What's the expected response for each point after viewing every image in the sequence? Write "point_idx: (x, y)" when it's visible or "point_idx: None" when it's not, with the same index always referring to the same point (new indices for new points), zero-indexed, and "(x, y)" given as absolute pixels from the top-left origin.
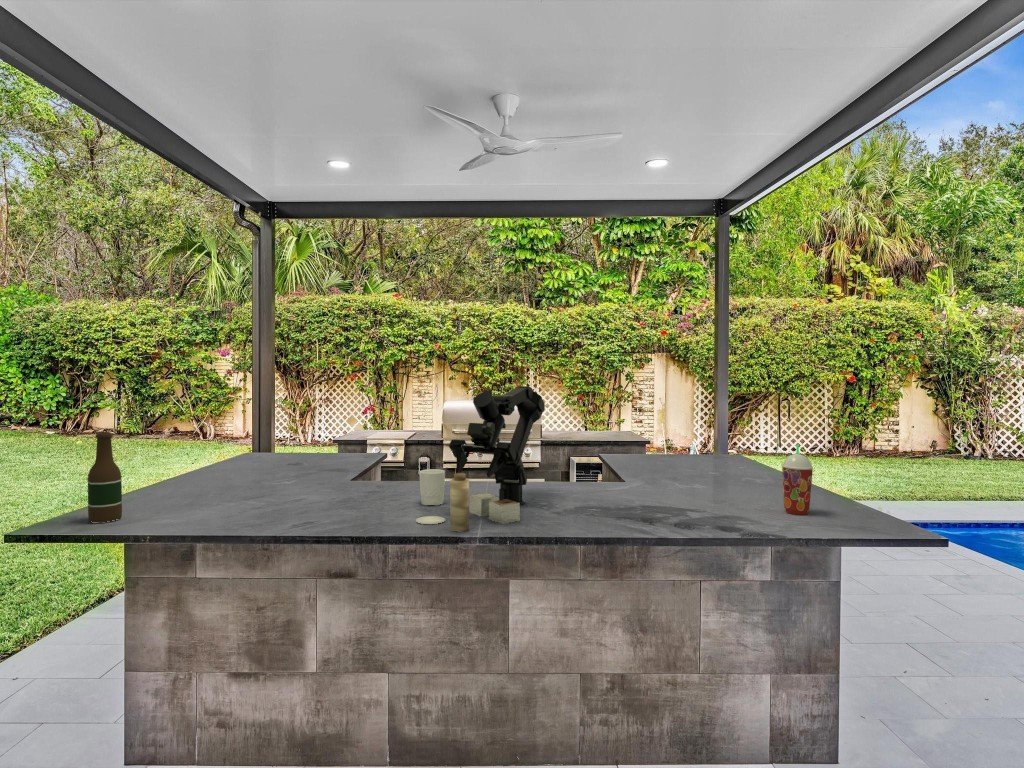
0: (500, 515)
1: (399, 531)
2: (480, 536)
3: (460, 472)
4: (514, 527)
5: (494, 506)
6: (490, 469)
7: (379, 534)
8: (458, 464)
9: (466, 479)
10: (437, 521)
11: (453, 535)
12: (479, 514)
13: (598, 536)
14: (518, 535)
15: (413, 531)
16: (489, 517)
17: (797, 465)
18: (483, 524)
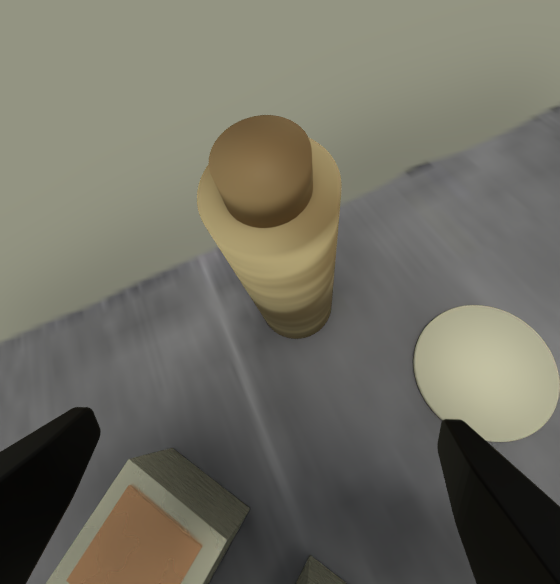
0: (163, 458)
1: (478, 197)
2: (194, 260)
3: (449, 497)
4: (112, 420)
5: (190, 499)
6: (9, 448)
7: (510, 145)
8: (525, 509)
9: (224, 221)
10: (435, 353)
11: None
12: (325, 570)
13: None
14: (79, 322)
15: (434, 217)
16: (246, 509)
17: None
18: (243, 414)
